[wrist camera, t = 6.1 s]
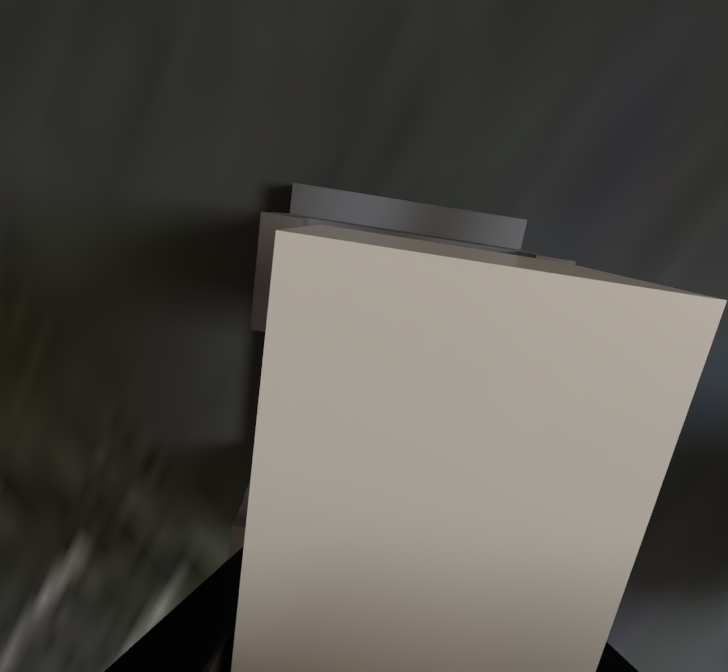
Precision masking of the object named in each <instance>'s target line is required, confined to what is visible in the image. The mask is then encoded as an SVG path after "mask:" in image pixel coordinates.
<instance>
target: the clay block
mask: <svg viewBox="0 0 728 672" xmlns="http://www.w3.org/2000/svg"><path fill="white" fill-rule="evenodd" d="M726 302H727V300H723V299H719V298H714V297H710V296H706V295H702V294H697V293H693V292H689V291H684V290H680V289H676V288H671V287H667V286H663V285H658V284H654V283H650V282H645V281H641V280H637V279H632V278H628V277H624V276H619V275H615V274H611V273H606V272H602V271H598V270H593V269H589V268H585V267H580V266H576V265H572V264H568V263H563V262H557V261H550V260H544V259H537V258H531V257H525V256H518V255H512V254H505V253H499V252H493V251H486V250H480V249H474V248H467V247H461V246H454V245H448V244H442V243H435V242H429V241H422V240H416V239H410V238H403V237H397V236H391V235H384V234H378V233H371V232H365V231H359V230H352V229H346V228H339V227H333V226H327V225H312V226H304V227H296V228H288V229H280V230H276V234H275V244H274V254H273V263H272V273H271V283H270V293H269V303H268V312H267V322H266V332H265V342H264V352H263V362H262V371H261V381H260V391H259V401H258V411H257V420H256V430H255V440H254V450H253V460H252V470H251V479H250V489H249V499H248V509H247V519H246V528H245V538H244V548H243V558H242V568H241V578H240V587H239V597H238V607H237V617H236V627H235V636H234V646H233V656H232V666H231V672H596V669H597V666H598V664H599V661H600V658H601V655H602V652H603V649H604V647H605V644H606V641H607V638H608V635H609V633H610V630H611V627H612V624H613V621H614V618H615V616H616V613H617V610H618V607H619V604H620V601H621V599H622V596H623V593H624V590H625V587H626V584H627V582H628V579H629V576H630V573H631V570H632V567H633V565H634V562H635V559H636V556H637V553H638V551H639V548H640V545H641V542H642V539H643V536H644V534H645V531H646V528H647V525H648V522H649V519H650V517H651V514H652V511H653V508H654V505H655V502H656V500H657V497H658V494H659V491H660V488H661V486H662V483H663V480H664V477H665V474H666V471H667V469H668V466H669V463H670V460H671V457H672V454H673V452H674V449H675V446H676V443H677V440H678V437H679V435H680V432H681V429H682V426H683V423H684V421H685V418H686V415H687V412H688V409H689V406H690V404H691V401H692V398H693V395H694V392H695V389H696V387H697V384H698V381H699V378H700V375H701V372H702V370H703V367H704V364H705V361H706V358H707V356H708V353H709V350H710V347H711V344H712V341H713V339H714V336H715V333H716V330H717V327H718V324H719V322H720V319H721V316H722V313H723V310H724V307H725V305H726Z"/></svg>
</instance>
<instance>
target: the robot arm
mask: <svg viewBox="0 0 728 672" xmlns="http://www.w3.org/2000/svg"><path fill="white" fill-rule="evenodd" d="M243 548H244V546H243V547H242V548H241V549H239V550H238V551H237V552H236V553H235V554H234V555H233V556H232V557H231V558H230V559H228V560H227V561H226V562H225V563H224V564H223V565H222V566H221V567H220V568H218V569H217V570H216V571H215V572H214V573H213V574H212V575H211V576H210V577H208V578H207V579H206V580H205V581H204V582H203V583H202V584H201V585H200V586H198V587H197V588H196V589H195V590H194V591H193V592H192V593H191V594H190V595H188V596H187V597H186V598H185V599H184V600H183V601H182V602H181V603H180V604H178V605H177V606H176V607H175V608H174V609H173V610H172V611H171V612H170V613H169V614H167V615H166V616H165V617H164V618H163V619H162V620H161V621H160V622H159V623H157V624H156V625H155V626H154V627H153V628H152V629H151V630H150V631H149V632H147V633H146V634H145V635H144V636H143V637H142V638H141V639H140V640H139V641H137V642H136V643H135V644H134V645H133V646H132V647H131V648H130V649H129V650H127V651H126V652H125V653H124V654H123V655H122V656H121V657H120V658H119V659H117V660H116V661H115V662H114V663H113V664H112V665H111V666H110V667H109V668H108V669H106V670H105V671H104V672H231V666H232V656H233V646H234V636H235V627H236V617H237V607H238V597H239V587H240V578H241V568H242V558H243ZM596 672H638V671H637V670H636V669H635V668H634V667H633V666H632V665H631V664H630V663H629V662H628V661H627V660H626V659H624V658H623V657H622V656H621V655H620V654H619V653H618V652H617V651H616V650H615V649H614V648H613V647H612V646H611V645H610V644H608V643H607V642H606V644H605V647H604V649H603V652H602V655H601V658H600V661H599V664H598V666H597V669H596Z"/></svg>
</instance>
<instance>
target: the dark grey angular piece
mask: <svg viewBox="0 0 728 672" xmlns="http://www.w3.org/2000/svg"><path fill="white" fill-rule="evenodd" d="M526 223H527V220H524V219H518V218H511V217H505V216H499V215H493V214H486V213H480V212H474V211H468V210H461V209H455V208H449V207H442V206H436V205H430V204H424V203H417V202H411V201H405V200H399V199H392V198H386V197H380V196H374V195H367V194H361V193H355V192H348V191H342V190H336V189H330V188H323V187H317V186H311V185H305V184H298V183H293V187H292V196H291V205H290V213H275V212H261V218H260V228H259V239H258V250H257V260H256V271H255V282H254V292H253V303H252V314H251V324H250V330H256V331H263V332H266V322H267V312H268V303H269V293H270V283H271V273H272V263H273V254H274V244H275V234H276V230H280V229H288V228H296V227H304V226H312V225H327V226H333V227H339V228H346V229H352V230H359V231H365V232H371V233H378V234H384V235H391V236H397V237H403V238H410V239H416V240H422V241H429V242H435V243H442V244H448V245H454V246H461V247H467V248H474V249H480V250H486V251H493V252H499V253H505V254H512V255H518V256H525V257H531V258H537V259H544V260H550V261H557V262H563V263H568V264H572V265H575V262H576V261H571V260H566V259H562V258H557V257H553V256H548V255H543V254H539V253H534V252H529V251H524V250H520V249H521V245H522V240H523V236H524V232H525V228H526ZM249 489H250V482H249V485H248V487H247V489H246V491H245V493H244V496H243V502H242V504H241V506H240V508H239V511H238V513H237V515H236V517H235V520H234V522H233V524H232V527H231V538H230V549H229V559H230V558H231V557H232V556H233V555H234V554H235V553H236V552H237V551H238V550H239V549H241V548H242V547H243V546H244V538H245V528H246V519H247V509H248V499H249Z"/></svg>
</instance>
